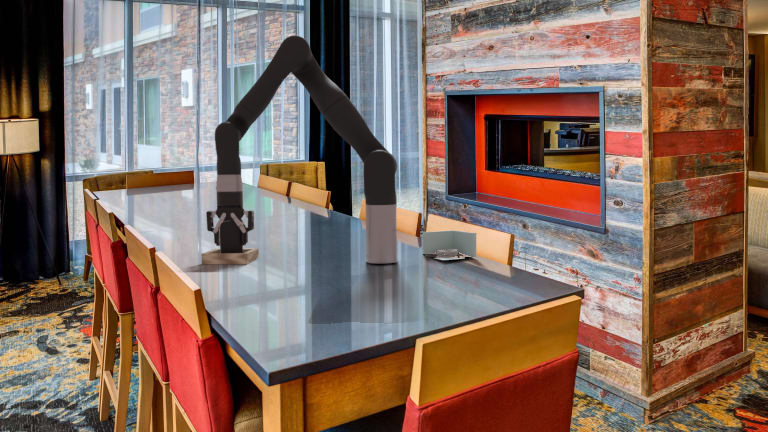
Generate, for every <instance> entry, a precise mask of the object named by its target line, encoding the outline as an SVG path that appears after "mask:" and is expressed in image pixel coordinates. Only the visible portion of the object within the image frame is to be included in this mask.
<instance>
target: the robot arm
mask: <svg viewBox="0 0 768 432" xmlns="http://www.w3.org/2000/svg"><path fill="white" fill-rule="evenodd" d="M290 74H292V75H293V76H294V77H295V78H296V80H298V82H299V83H301V85H303V87H304V88H305V89H306V91H307V92H308V94H309V95H310V98H311V99H312V100H313V102H314V103H313V104H315V106H316V107H317V110H319V112H320V113H321V114H322V116H323V118H325V120H326V121H327V123H328V124H329V125H330V126H331V127H332V129H333V130H334V131H335V132H336V133H337V134H338V135H339V136H340V137H341V138H342V139H343V140H344V141H345V142H346V143H347V144H348V145H349V146H351V147H352V149H353V150H354V151H355V153H356V154H357V155H358V157H359V158H360V160H361V161H362V163H363V188H364V189H363V194H364V199H365V261H366V263H368V264H392V263H394V264H396V263H398V229H397V194H396V193H397V192H396V172H397V171H398V170H397V169H398V164H397V161H396V160H397V159H396V158H395V157H394V155H393V154H392V153H390V151H388V149H386V148H385V147H384V146H383V144H382V143H381V142H380V141H379V140H378V139H377V137H376V136H374V134H373V132H372V131H371V129H370V127H369V126H368V124H367V123H366V121H365V119H364V118H363V116H362V115H361V113H360V112H359V110H358V109H357V108H356V106H355V104H353V102H352V100H350V98H349V97H348V96H347V94H346V93H345V92H344V91H343V90H342V89H341V88H340V87H339V86H338V85H337V84H336V83H335V82H333V81H332V80H331V79H330V78H329V76H327V74H325V73H324V71H323V70H322V68H321V66H320V65H319V63H318V61H317V60H316V59H315V57H314V55H313V53H312V50H311V46H310V45H309V42H308V41H307V39H306V38H304V37H303V36H301V35H295V34H294V35H290V36H288V37H286V38H284V40H282V42H281V43H280V45H279V47H278V48H277V51H275V54H274V56H273V58H272V59H271V60H270V62H269V63H268V65H267V67H266V68H265V70H264V71H263V73H262V74H261V75H260V76H259V78H258V79H257V80H256V82H255V83H254V84H253V85H252V87H251V88H250V89H249V90H248V91H247V92H246V94H245V95H244V96H243V97H242V98H241V100H239V102H238V103H237V104H236V106H235V107H234V109H233V112H232V113H231V115H230V116H228V118H227V119H226V120H225V121H223V122H221V123H219V124H218V125H217V126H216V128H215V130H214V142H215V144H214V145H215V152H216V182H215V183H216V186H215V190H216V210H207V211H206V213H205V215H206V229H207V231H208V232H211V233H213V242H214V244H215V245H216V246H217V247H218V246H219V247H220V244H219V238H218V227H219V225H220V223H221V222H223V221H234V222H235V223H236V224H237V226H238V227H239V228H240V229H241V231H242V233H241V235H242V246H246V245H247V244H248V242H249V238H248V236H249V235H248V233H249V232H251V231H253V230H254V229H255V211H254V210H253V209H251V210H245V209H244V201H243V200H244V199H243V198H244V193H243V192H244V191H243V190H244V189H243V178H242V161H241V157H240V142H241V141H242V139H243V138H244V136H245V135H246V133H247V132H248V130H249V129H250V128H251V126H252V125H253V124H254V123H255V122H256V121H257V120H258V119H259V118H260V116H261V115H262V114H263V112H265V110H266V109H267V107H268V106H269V105H270V103H271V101H272V100H273V99H274V96H275V95H276V93H277V92H278V89H279V88H280V87H281V85H282V83H283V82H284V81H285V79H286V78H287V77H288V76H289V75H290ZM244 215H245V218H247V226H246V224H245V221H244V220H243V219H242V218H243V217H244ZM216 216H217V218H218V221H217V223H216V224H215V226H214V218H215V217H216Z"/></svg>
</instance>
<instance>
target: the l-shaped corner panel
mask: <svg viewBox="0 0 768 432" xmlns="http://www.w3.org/2000/svg"><path fill="white" fill-rule="evenodd" d="M435 252H436V254H435V255H437V256H439V257H446V258H434V259H436V260H441V261H449V260H459V259H460V260H461V259H464V258H447V257H455V256H457V255H459V254H458V252H460V253H462V254H465V255H468V256H471V257H476V258H477V233H476V232H470V231H461V230H454V229H453V230H437V231H435V230H433V231H422V255H423V254H430V253H435ZM444 254H445V255H444Z"/></svg>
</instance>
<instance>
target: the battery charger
mask: <svg viewBox="0 0 768 432" xmlns="http://www.w3.org/2000/svg"><path fill="white" fill-rule="evenodd" d="M241 233H242V231H241V229H240V228H239V227H238V226H237V224H236V223H235V222H234V221H223V222H221V223H220V225H219V227H218V238H219V244H220V246H219V249H220V253H243V249H244V247H243V246H244V245H243V246H242V235H241Z"/></svg>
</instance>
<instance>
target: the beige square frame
mask: <svg viewBox="0 0 768 432" xmlns="http://www.w3.org/2000/svg"><path fill="white" fill-rule="evenodd" d="M259 250H260V249H259V248H243V253H220V248H214V249H211V250H208V251H206V252H204V253H201V254H200V256H201V258H200V260H201V262H200V263H201V265H249V264H251V263H252V262H254V261H256V260H257V259H258V258H259V255H260V253H259Z"/></svg>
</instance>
